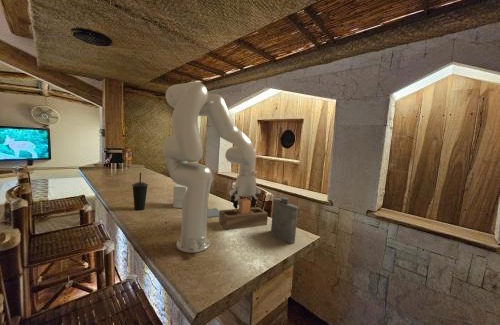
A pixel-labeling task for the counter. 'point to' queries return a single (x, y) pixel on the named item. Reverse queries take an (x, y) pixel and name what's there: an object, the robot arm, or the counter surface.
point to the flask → (284, 219)
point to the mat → (213, 213)
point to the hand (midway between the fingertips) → (244, 207)
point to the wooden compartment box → (242, 218)
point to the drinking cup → (139, 195)
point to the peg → (244, 206)
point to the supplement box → (178, 195)
